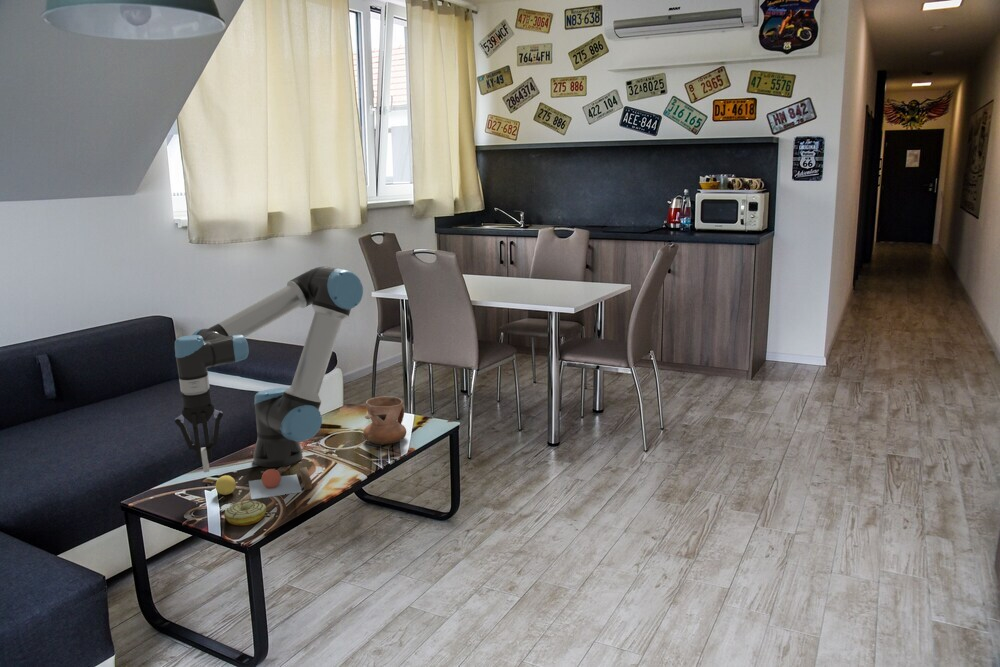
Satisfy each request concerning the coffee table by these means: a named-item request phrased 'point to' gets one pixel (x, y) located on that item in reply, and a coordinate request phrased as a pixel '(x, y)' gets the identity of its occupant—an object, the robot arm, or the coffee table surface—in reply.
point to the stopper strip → (305, 478)
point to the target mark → (284, 487)
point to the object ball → (271, 478)
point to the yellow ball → (225, 485)
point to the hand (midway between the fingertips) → (206, 470)
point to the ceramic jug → (385, 420)
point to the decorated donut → (245, 513)
